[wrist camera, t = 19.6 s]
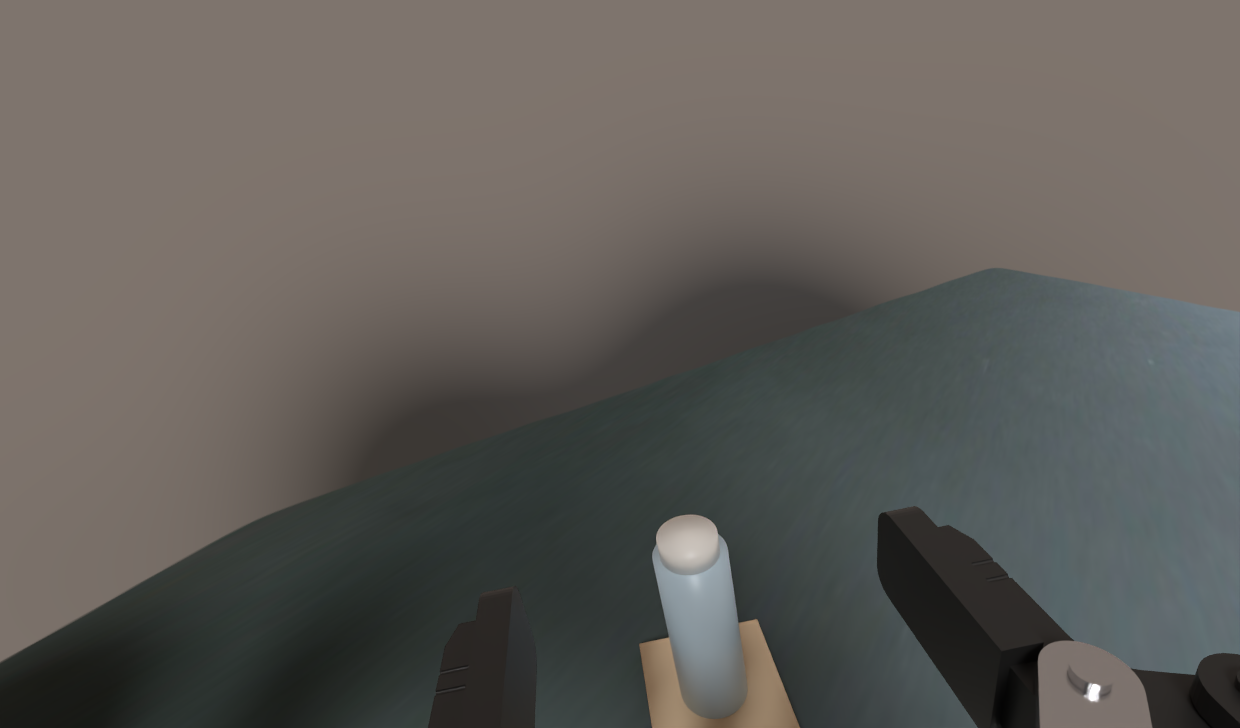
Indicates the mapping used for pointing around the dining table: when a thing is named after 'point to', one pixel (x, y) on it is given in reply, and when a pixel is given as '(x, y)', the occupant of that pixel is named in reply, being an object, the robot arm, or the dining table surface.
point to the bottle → (701, 615)
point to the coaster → (766, 710)
